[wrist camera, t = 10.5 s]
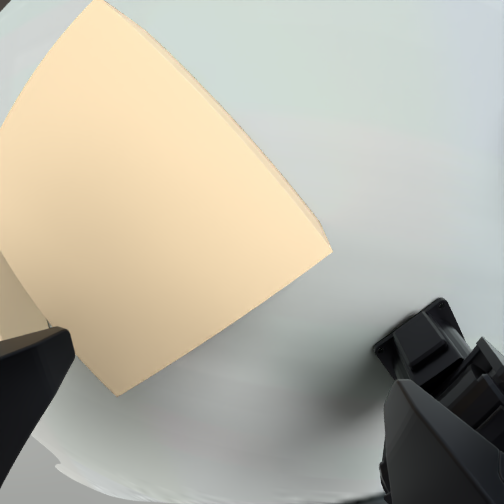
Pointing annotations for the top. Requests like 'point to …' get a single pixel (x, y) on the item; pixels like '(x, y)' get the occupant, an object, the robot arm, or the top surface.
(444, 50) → the top surface
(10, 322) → the carton flap
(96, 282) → the carton
